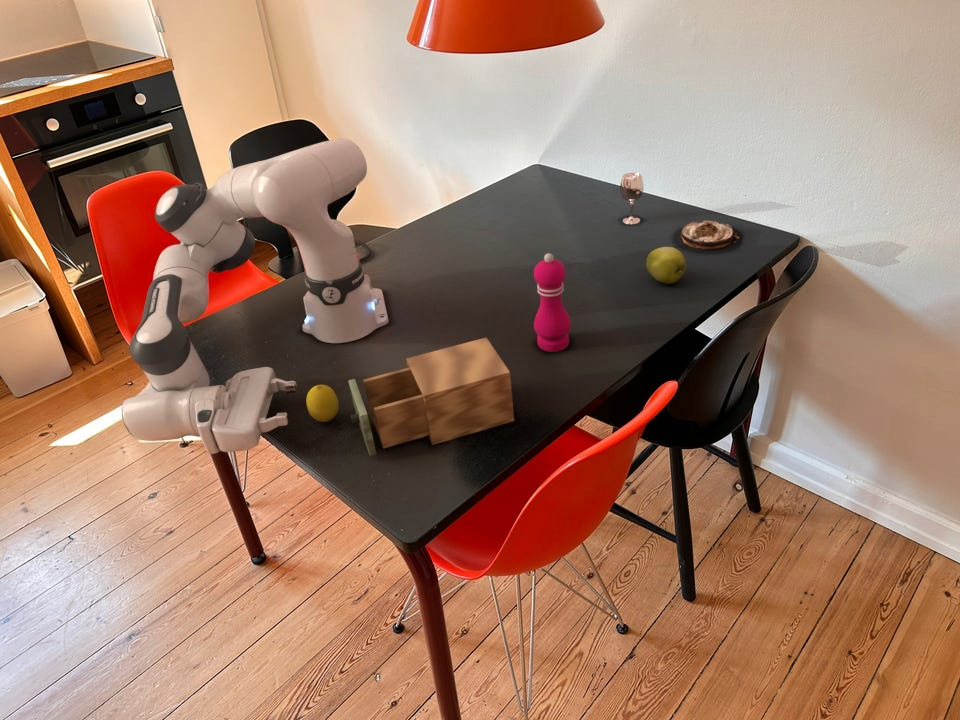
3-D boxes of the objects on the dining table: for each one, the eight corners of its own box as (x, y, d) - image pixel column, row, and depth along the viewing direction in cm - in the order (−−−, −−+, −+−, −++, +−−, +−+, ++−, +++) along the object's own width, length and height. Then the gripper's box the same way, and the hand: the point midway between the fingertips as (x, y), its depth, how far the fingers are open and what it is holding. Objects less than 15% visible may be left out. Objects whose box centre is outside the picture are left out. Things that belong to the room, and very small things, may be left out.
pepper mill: (568, 332, 156) (565, 243, 145) (573, 351, 150) (570, 260, 139) (533, 335, 157) (527, 247, 145) (537, 355, 151) (531, 264, 139)
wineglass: (616, 218, 199) (616, 174, 192) (636, 214, 200) (637, 170, 193) (626, 227, 194) (626, 182, 187) (646, 222, 195) (648, 177, 189)
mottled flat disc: (724, 259, 176) (725, 242, 174) (664, 246, 185) (665, 230, 182) (749, 234, 185) (751, 218, 183) (692, 222, 194) (693, 207, 191)
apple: (671, 294, 165) (673, 261, 160) (638, 281, 171) (639, 249, 166) (694, 281, 169) (696, 248, 164) (661, 268, 175) (662, 236, 170)
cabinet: (432, 445, 131) (423, 395, 125) (414, 405, 141) (405, 358, 135) (514, 421, 135) (510, 372, 129) (491, 384, 144) (486, 337, 138)
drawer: (362, 458, 129) (352, 417, 124) (351, 421, 137) (341, 382, 133) (449, 433, 132) (442, 393, 127) (431, 399, 141) (425, 359, 136)
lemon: (339, 429, 137) (330, 394, 133) (309, 431, 138) (299, 396, 133) (344, 410, 142) (335, 375, 137) (315, 412, 142) (305, 377, 138)
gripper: (233, 390, 148) (304, 382, 147) (206, 461, 131) (286, 452, 131) (223, 363, 144) (296, 355, 144) (195, 432, 127) (277, 423, 127)
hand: (291, 402), depth 137 cm, fingers open, 8 cm apart
